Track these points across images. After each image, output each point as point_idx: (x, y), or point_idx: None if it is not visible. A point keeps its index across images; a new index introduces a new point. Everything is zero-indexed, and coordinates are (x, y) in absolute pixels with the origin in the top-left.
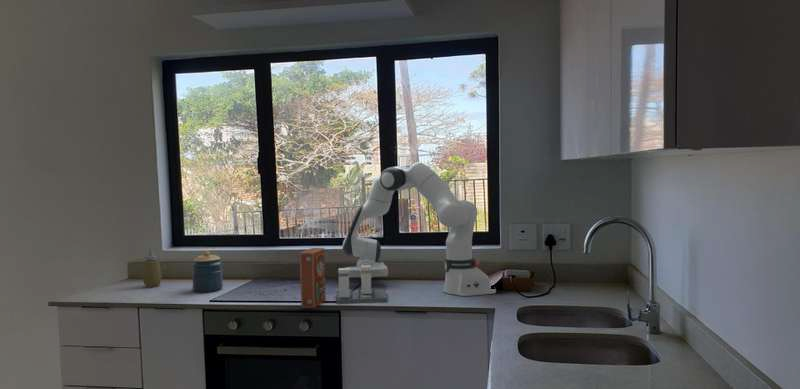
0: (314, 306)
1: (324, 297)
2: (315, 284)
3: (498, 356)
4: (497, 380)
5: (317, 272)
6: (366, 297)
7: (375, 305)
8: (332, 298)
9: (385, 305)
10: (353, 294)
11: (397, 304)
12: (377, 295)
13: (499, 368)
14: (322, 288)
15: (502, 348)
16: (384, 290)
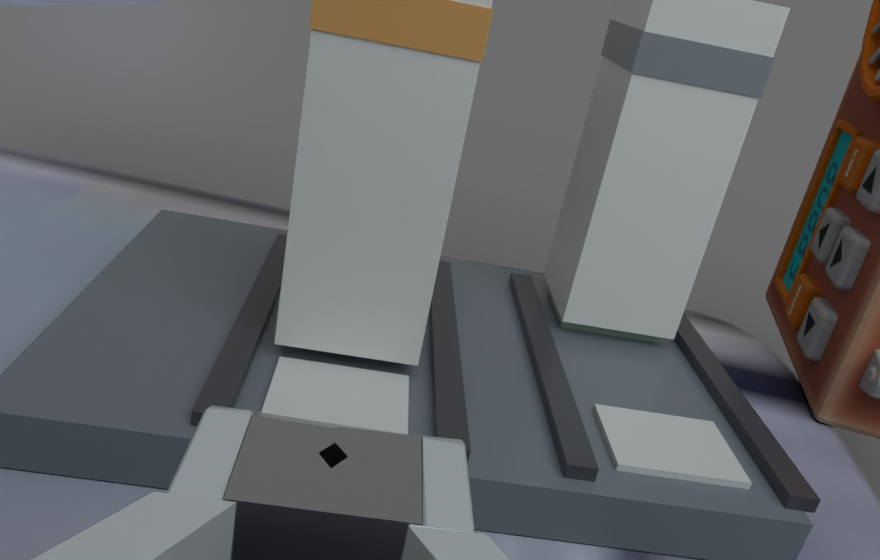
0: (768, 287)
1: (801, 341)
2: (839, 131)
3: (86, 4)
4: (168, 3)
5: (868, 20)
6: None
7: None
8: None
9: (214, 206)
10: (520, 361)
11: (103, 194)
12: (226, 271)
13: (129, 3)
14: (831, 226)
15: (35, 2)
16: (3, 388)
